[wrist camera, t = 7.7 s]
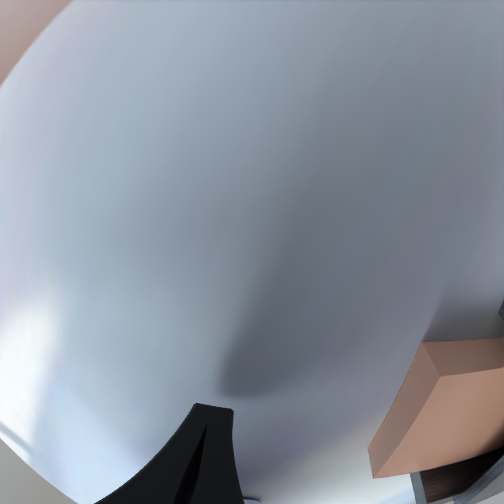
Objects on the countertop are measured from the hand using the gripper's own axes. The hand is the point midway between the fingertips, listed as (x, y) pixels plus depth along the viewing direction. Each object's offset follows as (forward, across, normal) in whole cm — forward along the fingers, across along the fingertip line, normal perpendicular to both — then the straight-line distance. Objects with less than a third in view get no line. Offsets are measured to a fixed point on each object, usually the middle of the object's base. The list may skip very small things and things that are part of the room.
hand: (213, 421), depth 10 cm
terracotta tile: (+2, -13, 0) cm, 13 cm away
